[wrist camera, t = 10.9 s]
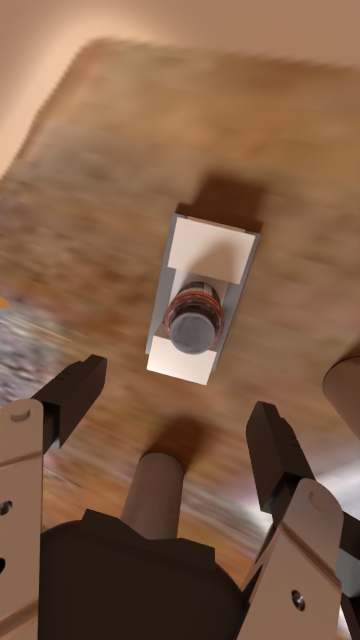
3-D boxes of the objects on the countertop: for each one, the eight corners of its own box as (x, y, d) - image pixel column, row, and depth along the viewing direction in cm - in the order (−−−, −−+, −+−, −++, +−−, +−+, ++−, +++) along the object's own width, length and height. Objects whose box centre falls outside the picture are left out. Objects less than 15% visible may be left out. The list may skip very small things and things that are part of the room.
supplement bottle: (219, 323, 29) (226, 367, 19) (176, 322, 30) (159, 365, 19) (220, 279, 27) (229, 301, 17) (174, 280, 28) (155, 301, 17)
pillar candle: (187, 486, 44) (178, 598, 30) (142, 486, 45) (114, 593, 31) (179, 450, 41) (165, 556, 27) (132, 452, 43) (95, 552, 28)
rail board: (214, 366, 34) (215, 392, 28) (147, 348, 34) (134, 370, 28) (258, 234, 27) (273, 231, 21) (174, 214, 27) (164, 205, 21)
